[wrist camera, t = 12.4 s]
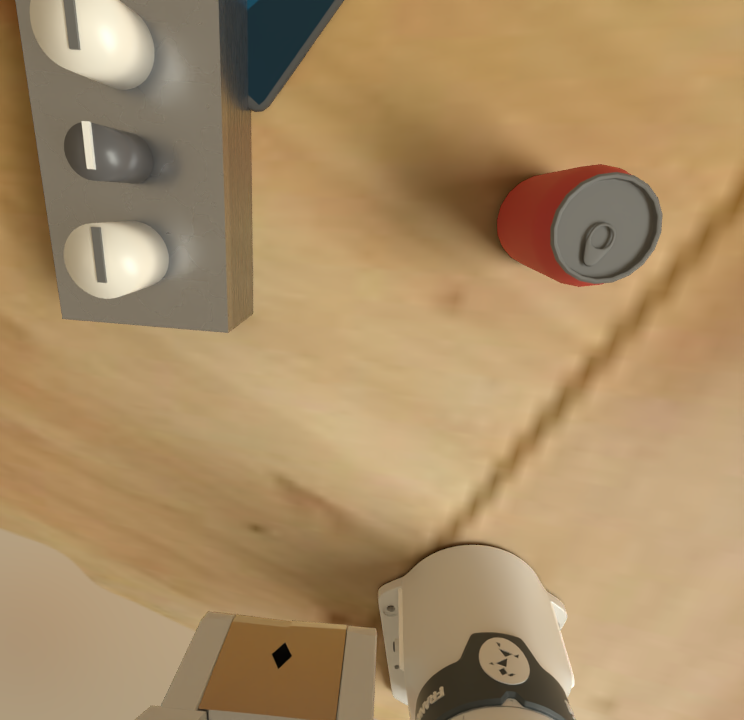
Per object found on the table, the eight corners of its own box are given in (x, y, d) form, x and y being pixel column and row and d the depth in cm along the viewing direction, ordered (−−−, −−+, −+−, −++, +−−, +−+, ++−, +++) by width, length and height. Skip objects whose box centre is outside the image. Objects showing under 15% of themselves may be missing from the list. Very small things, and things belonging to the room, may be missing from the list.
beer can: (480, 247, 36) (519, 268, 25) (518, 161, 34) (579, 139, 22) (558, 277, 36) (631, 311, 25) (600, 193, 34) (700, 189, 23)
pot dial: (155, 185, 30) (117, 182, 26) (109, 181, 30) (65, 178, 26) (151, 134, 29) (112, 123, 25) (104, 130, 29) (57, 118, 25)
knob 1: (190, 107, 32) (118, 74, 24) (128, 103, 33) (35, 68, 24) (187, 34, 31) (108, -29, 23) (122, 29, 31) (20, -35, 23)
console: (253, 313, 39) (228, 332, 33) (111, 301, 39) (62, 318, 33) (249, -3, 31) (216, -49, 26) (76, -15, 32) (6, -62, 26)
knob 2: (199, 279, 36) (139, 302, 28) (144, 274, 36) (67, 296, 28) (196, 220, 35) (132, 226, 26) (139, 216, 35) (56, 220, 27)
